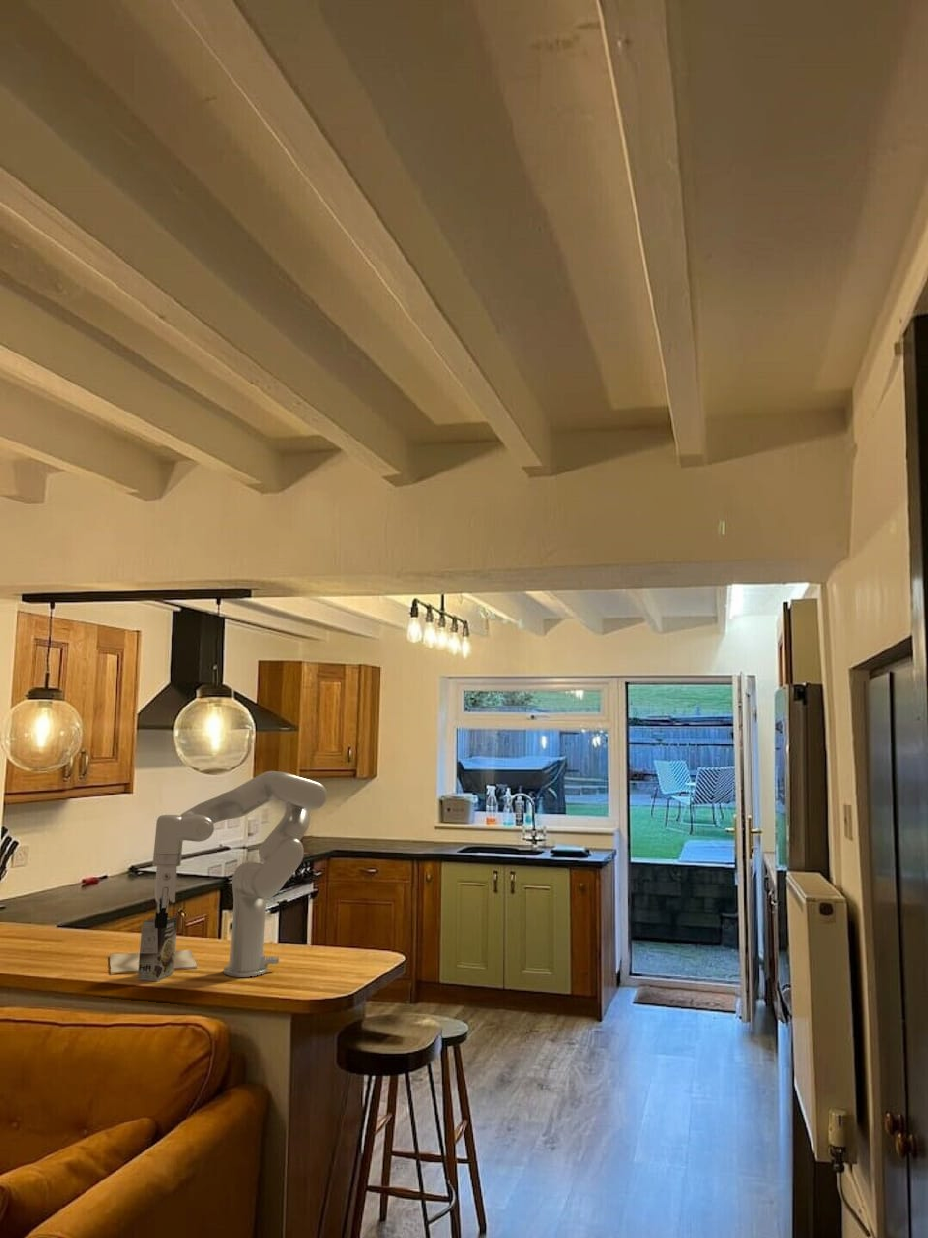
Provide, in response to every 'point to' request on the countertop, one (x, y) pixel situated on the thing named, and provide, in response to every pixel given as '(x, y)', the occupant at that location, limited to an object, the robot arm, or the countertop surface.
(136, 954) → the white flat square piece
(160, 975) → the coffee box
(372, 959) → the countertop surface
